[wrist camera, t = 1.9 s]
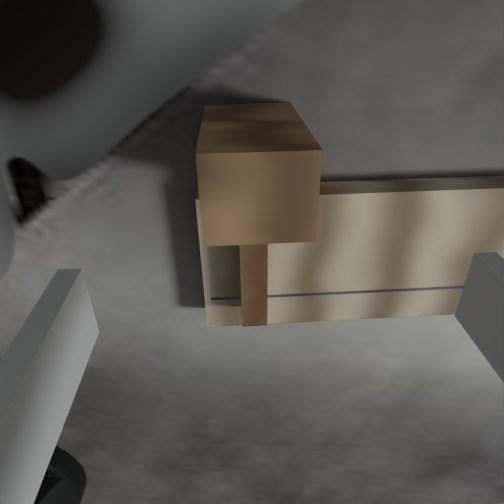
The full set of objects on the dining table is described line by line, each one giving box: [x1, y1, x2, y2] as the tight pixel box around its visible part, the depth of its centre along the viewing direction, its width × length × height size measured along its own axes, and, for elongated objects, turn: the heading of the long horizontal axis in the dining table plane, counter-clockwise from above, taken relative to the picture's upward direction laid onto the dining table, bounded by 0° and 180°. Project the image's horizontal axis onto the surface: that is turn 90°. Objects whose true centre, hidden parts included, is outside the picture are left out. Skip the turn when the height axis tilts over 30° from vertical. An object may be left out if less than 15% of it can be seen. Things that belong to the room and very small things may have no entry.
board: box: [195, 175, 504, 327], centre depth 34 cm, size 30×12×2 cm, turn 91°
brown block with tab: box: [195, 103, 323, 326], centre depth 28 cm, size 6×16×11 cm, turn 1°
